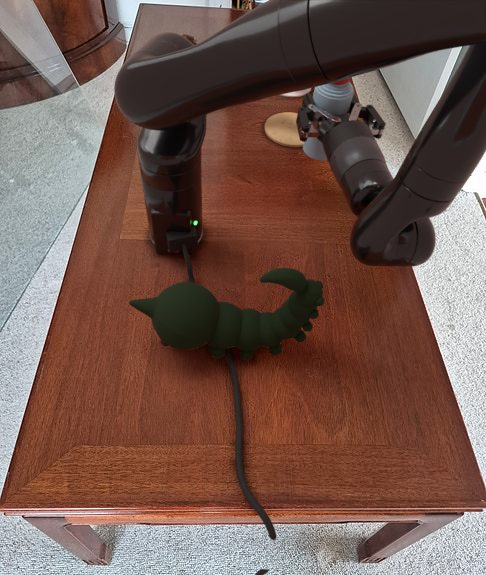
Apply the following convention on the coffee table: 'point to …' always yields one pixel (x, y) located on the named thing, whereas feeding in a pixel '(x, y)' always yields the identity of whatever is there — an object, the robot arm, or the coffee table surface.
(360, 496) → the coffee table surface
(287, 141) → the coaster
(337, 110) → the bottle
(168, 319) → the toy figurine
